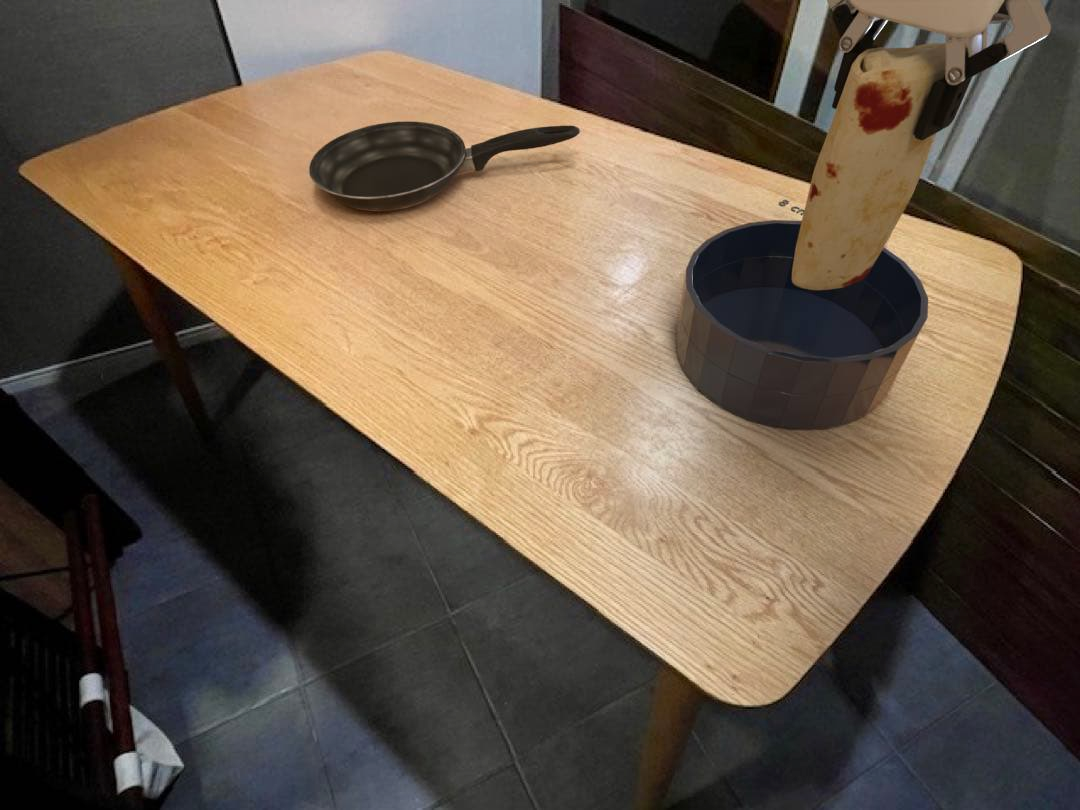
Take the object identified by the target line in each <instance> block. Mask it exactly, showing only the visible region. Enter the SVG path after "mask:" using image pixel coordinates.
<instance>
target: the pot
mask: <svg viewBox="0 0 1080 810" xmlns="http://www.w3.org/2000/svg"><path fill="white" fill-rule="evenodd" d="M801 223H802V220H787V219H786V220H785V219H770V220H760V221H754V222H753V221H752V222H747V223H743V224H741V225H737V226H733V227H729V228H726V229H724V230H722V231H720V232H718V233H716V234H715V235H713V236H710V237H708V238H707V239H705V240H704V242H703V243H701V245H700V246H699V247H698V248H696V249H695V250H694V251H693V253H692V254H691V256H690V259H689V261H688V263H687V266H686V268H685V273H684V280H683V287H682V292H681V300H680V305H679V306H680V307H679V312H678V319H677V327H676V338H675V339H676V340H675V350H676V356H677V359H678V362H679V365H680V367H681V370H682V371H683V373H684V374H685V376H686V377H687V379H688V381H689V382H690V383H691V384H692V385H693V387H694V388H696V390H698V392H699V393H701V394H702V395H703V396H704V397H705V398H707V399H708V401H710V402H712V403H714V404H715V405H716V406H717V407H719V408H721V409H722V410H725V411H726V412H728V413H730V414H732V415H735V416H737V417H739V418H741V419H744V420H746V421H750V422H752V423H756V424H759V425H761V426H766V427H771V428H776V429H782V430H791V431H818V430H828V429H834V428H838V427H839V428H840V427H842V426H845V425H848V424H852V423H853V422H856V421H858V420H860V419H863V418H864V417H865V416H867V415H869V414H871V413H872V412H874V410H875V409H876V408H878V406H880V405H881V404H882V403H883V401H884V400H885V398H886V397H887V396H888V394H889V392H890V390H891V388H892V387H893V384H894V383H895V381H896V379H897V377H898V375H899V373H900V371H901V369H902V368H903V365H904V363H905V362H906V360H907V358H908V357H909V354H910V352H911V351H912V349H913V346H914V345H915V343H916V341H917V338H918V337H919V335H920V334H921V331H922V330H923V328H924V326H925V324H926V321H927V320H928V316H929V312H928V311H929V296H928V294H927V292H926V290H925V287H924V285H923V282H922V280H921V278H920V277H919V276H918V275H917V273H915V271H914V270H913V269H912V268H911V267H910V265H909V264H908V263H907V262H906V261H904V260H903V259H902V258H901V257H899V256H898V255H896V254H895V253H894V252H892V250H889V249H888V248H887V247H884V248H883V249H882V251H881V253H880V255H879V256H878V258H877V260H876V261H875V263H874V264H873V266H872V268H871V269H870V271H869V273H868V274H867V276H866V277H865V278H864V279H863V280H860V281H857V282H855V283H853V284H851V285H848V286H845V287H842V288H836V289H829V290H809V289H804V288H801V287H798V286H796V285H795V284H794V283H793V282H792V268H793V262H794V256H795V249H796V244H797V240H798V236H799V231H800V227H801Z"/></svg>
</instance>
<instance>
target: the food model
mask: <svg viewBox="0 0 1080 810" xmlns="http://www.w3.org/2000/svg"><path fill="white" fill-rule="evenodd" d="M945 53H946V42H941V43H940V42H932V43H924V44H919V45H915V46H910V47H888V48H887V47H886V48H884V47H883V46H880V47H878V48H873V49H867V50H866V51H864V52H863V53H861V54H860V55H859V56H858V57H857V59H856V60H855V61H854V63H853V64H852V66H851V69H850V72H849V75H848V78H847V80H846V83H845V86H844V89H843V92H842V95H841V97H840V100H839V103H838V105H837V108H836V109H835V111H834V115H833V116H832V120H831V123H830V126H829V129H828V132H827V134H826V137H825V140H824V142H823V145H822V148H821V150H820V152H819V155H818V157H817V161H816V163H815V166H814V170H813V173H812V175H811V180H810V185H809V189H808V194H807V198H806V202H805V207H804V209H803V210H804V214H803V215H802V219H801V221H802V223H801V227H800V231H799V236H798V240H797V244H796V249H795V256H794V262H793V268H792V282H793V283H794V284H795V285H796V286H798V287H801V288H804V289H809V290H829V289H836V288H842V287H845V286H848V285H851V284H853V283H855V282H857V281H860V280H863V279H864V278H865V277H866V276H867V274H868V273H869V271H870V269H871V268H872V266H873V264H874V263H875V261H876V260H877V258H878V256H879V255H880V253H881V251H882V249H883V248H884V246H885V244H886V242H887V240H888V239H889V240H890V238H891V236H892V234H893V231H894V230H895V228H896V227H897V224H898V223H899V220H900V219H901V217H902V215H903V213H904V212H905V210H906V208H907V206H908V204H909V203H910V201H911V200H912V199H911V198H912V197H913V194H914V192H915V190H916V187H917V186H918V183H919V180H920V177H921V176H922V173H923V170H924V168H925V166H926V163H927V160H928V158H929V155H930V152H931V149H932V147H933V144H934V142H935V139H936V136H937V134H938V132H937V133H935V134H933V135H932V136H930V137H928V138H926V139H924V140H919V139H917V138H915V136H914V132H915V129H916V126H917V124H918V121H919V119H920V116H921V114H922V111H923V109H924V106H925V103H926V101H927V98H928V96H929V93H930V91H931V88H932V86H933V84H934V83H935V82H936V81H938V80H940V79H942V78H943V77H944V74H945ZM891 233H892V234H891ZM890 235H891V236H890ZM889 237H890V238H889Z"/></svg>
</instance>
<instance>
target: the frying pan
mask: <svg viewBox="0 0 1080 810" xmlns="http://www.w3.org/2000/svg"><path fill="white" fill-rule="evenodd" d="M580 133H581V129H580V128H579V127H577V126H575V125H549V126H538V127H532V128H525V129H521V130H516V131H512V132H508V133H505V134H501V135H498V136H495V137H492V138H490V139H487V140H485V141H482V142H479V143H475V144H472V145H470V147H468V148H466V144H465V141H464V140H463V138H462V137H461V136H460V135H459V134H458V133H457V132H455V131H454V130H452V129H451V128H448V127H445V126H443V125H439V124H435V123H431V122H425V121H424V122H423V121H411V120H410V121H408V120H406V121H392V122H383V123H377V124H372V125H371V124H370V125H367V126H363V127H360V128H358V129H354V130H351V131H349V132H347V133H344V134H341V135H340V136H337V137H336V138H334V139H332V140H330V141H329V142H327V143H326V144H324V145H323V146H322V147H321V148H320V149H319V150H317V152H316V153H315V154H314V155H313V156H312V159H311V161H310V162H309V168H308V173H309V176H310V179H311V180H312V182H313V183H314V185H315V186H316V187H318V188H319V189H321V190H322V191H324V192H325V193H326V195H328V196H329V197H331V198H332V199H333V200H335V201H337V202H338V203H341V204H343V205H345V206H347V207H350V208H353V209H357V210H362V211H369V212H390V211H397V210H404V209H406V208H410V207H414V206H417V205H420V204H422V203H424V202H427V201H429V200H431V199H433V198H434V197H436V196H437V195H438V194H440V193H442V192H443V190H445V189H446V188H447V187H448V186H449V185H450V184H451V183H452V181H453V180H454V179H455V177H456V176H460V175H464V174H468V173H471V172H481V171H483V170H484V169H485V167H486V165H487V164H488V162H489V161H490V160H491V159H492V158H494V157H495V156H497V155H498V154H501V153H504V152H512V151H523V150H531V149H537V148H543V147H548V146H552V145H556V144H559V143H562V142H565V141H569V140H571V139H574V138H576V137H577V136H578V135H580Z"/></svg>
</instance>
